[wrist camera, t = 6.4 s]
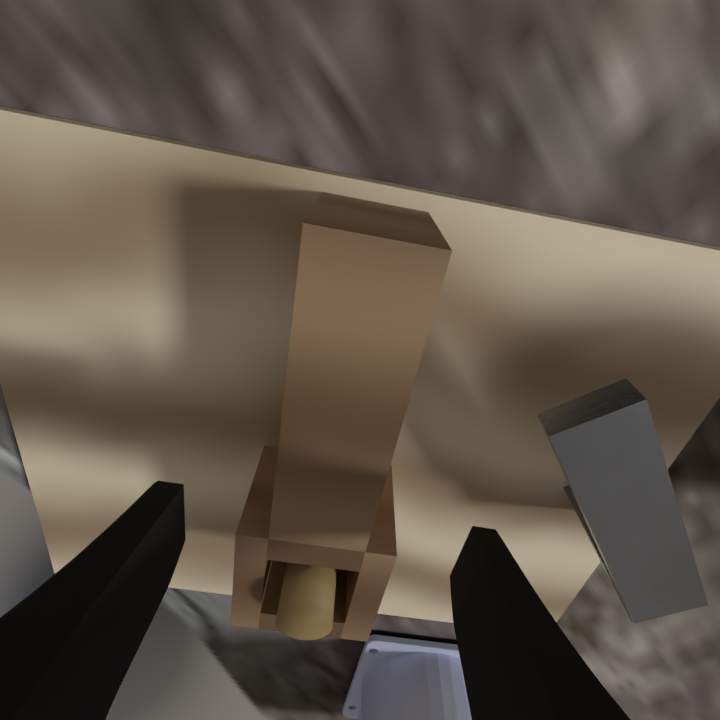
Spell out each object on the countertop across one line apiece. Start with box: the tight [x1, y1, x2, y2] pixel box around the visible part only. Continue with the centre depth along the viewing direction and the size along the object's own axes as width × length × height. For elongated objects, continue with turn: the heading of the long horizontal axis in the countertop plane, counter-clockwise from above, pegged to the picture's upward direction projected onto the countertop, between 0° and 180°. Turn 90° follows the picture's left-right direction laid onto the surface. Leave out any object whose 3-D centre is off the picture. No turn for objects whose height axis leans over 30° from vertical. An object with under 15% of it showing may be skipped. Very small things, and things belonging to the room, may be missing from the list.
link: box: [231, 192, 452, 642], centre depth 14 cm, size 14×5×4 cm, turn 170°
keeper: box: [537, 378, 708, 623], centre depth 13 cm, size 10×2×5 cm, turn 30°
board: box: [0, 106, 720, 640], centre depth 15 cm, size 20×25×6 cm
